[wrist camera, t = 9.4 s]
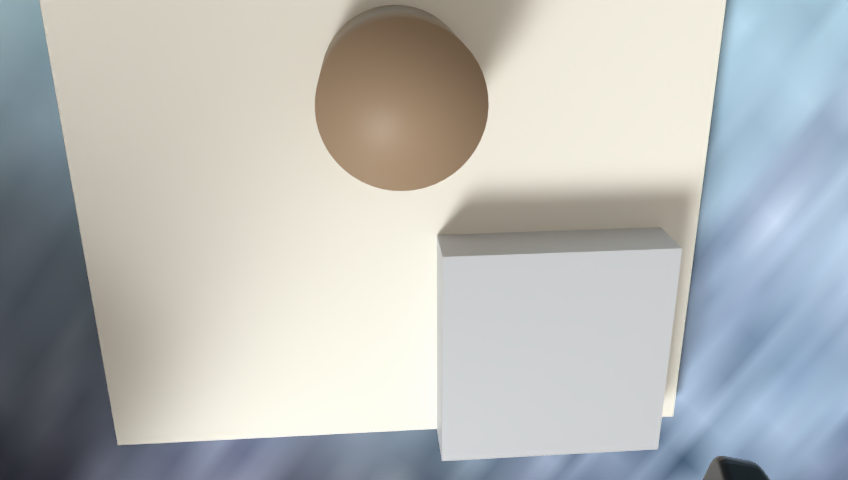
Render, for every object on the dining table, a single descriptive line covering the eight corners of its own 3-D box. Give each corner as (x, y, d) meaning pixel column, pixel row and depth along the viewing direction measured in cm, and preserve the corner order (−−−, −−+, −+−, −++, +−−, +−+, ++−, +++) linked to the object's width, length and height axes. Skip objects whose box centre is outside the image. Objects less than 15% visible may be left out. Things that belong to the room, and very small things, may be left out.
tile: (123, 432, 23) (83, 519, 19) (48, -3, 18) (-20, 13, 15) (665, 405, 24) (715, 482, 21) (716, -11, 20) (790, 2, 16)
